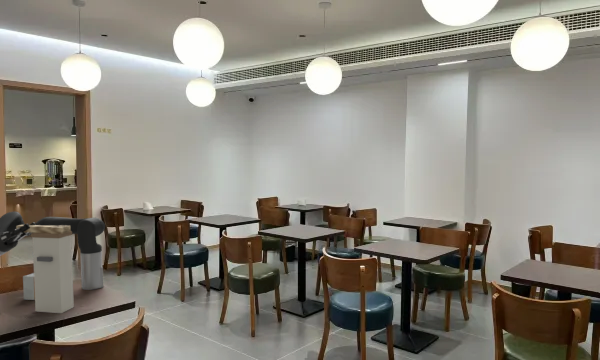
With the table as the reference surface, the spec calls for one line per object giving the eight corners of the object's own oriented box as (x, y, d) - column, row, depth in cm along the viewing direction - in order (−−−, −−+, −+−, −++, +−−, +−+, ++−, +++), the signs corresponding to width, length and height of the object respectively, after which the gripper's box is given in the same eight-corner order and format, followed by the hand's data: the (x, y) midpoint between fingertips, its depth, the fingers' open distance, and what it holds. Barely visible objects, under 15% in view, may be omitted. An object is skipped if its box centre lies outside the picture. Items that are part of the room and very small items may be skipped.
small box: (34, 300, 188) (33, 276, 188) (23, 299, 189) (22, 276, 189) (48, 294, 196) (47, 271, 196) (37, 293, 197) (36, 271, 197)
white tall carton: (74, 306, 180) (72, 231, 178) (59, 314, 171) (56, 235, 169) (48, 305, 182) (45, 230, 180) (32, 312, 174) (28, 234, 172)
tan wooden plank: (70, 231, 177) (70, 225, 176) (61, 234, 172) (61, 227, 171) (24, 230, 181) (24, 224, 180) (14, 232, 176) (14, 226, 176)
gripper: (-18, 239, 174) (13, 219, 170) (11, 233, 187) (40, 214, 184) (-9, 256, 173) (22, 236, 170) (19, 248, 187) (49, 229, 184)
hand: (31, 225), depth 177 cm, fingers closed on tan wooden plank, 3 cm apart
